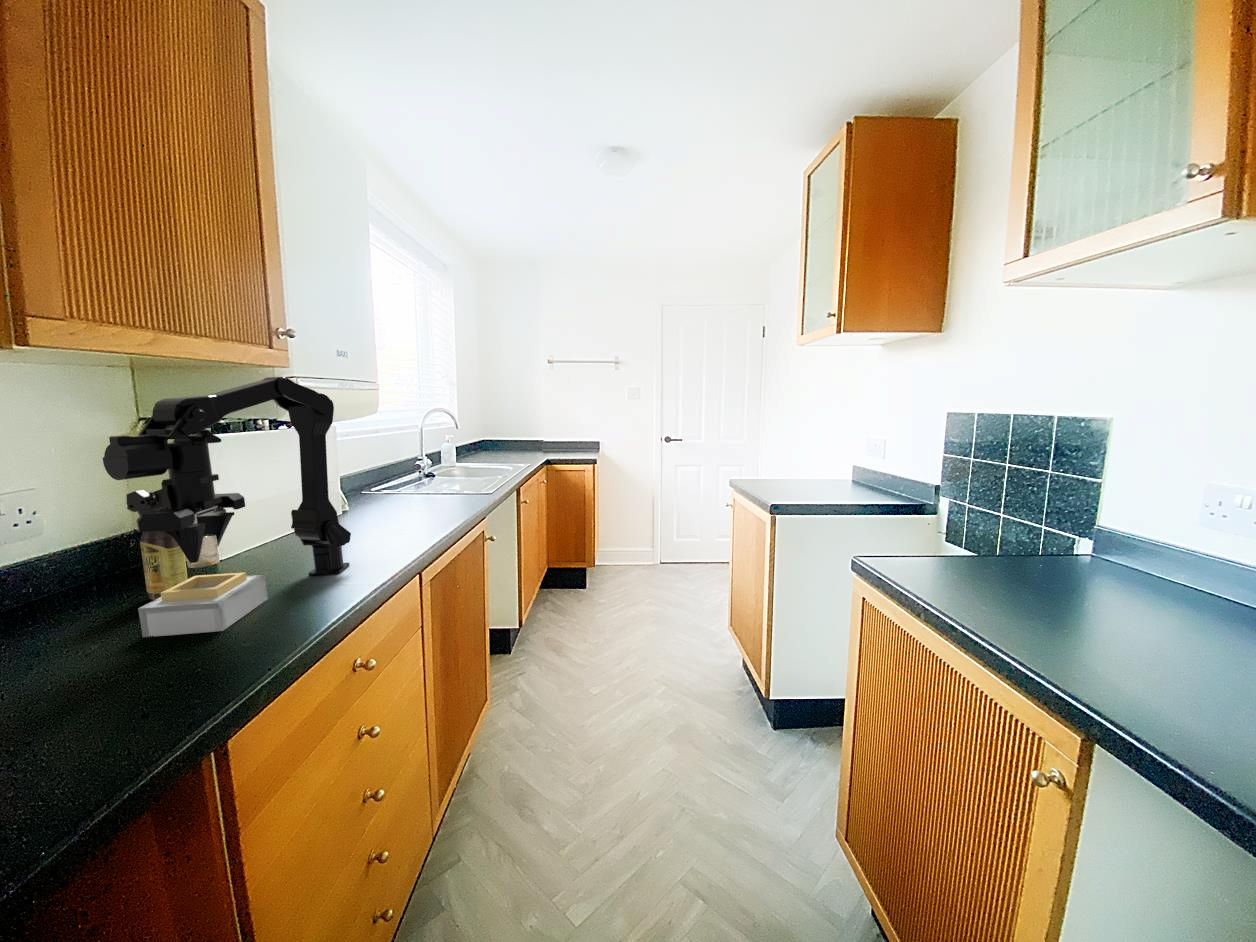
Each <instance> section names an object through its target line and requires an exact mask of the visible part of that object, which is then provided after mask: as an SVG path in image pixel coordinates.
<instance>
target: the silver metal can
mask: <svg viewBox="0 0 1256 942" xmlns="http://www.w3.org/2000/svg"><path fill="white" fill-rule="evenodd" d="M220 562H221V558H220V553H219V546H218V544H217V537H216V534H215V533H206V534H204V535H203V540H202V546H201V551H200V556H199V559H198V562H196V563H190V562H189V561H188V559H187V558H186V565H187V568H189V569H191V568H192V569H196V568H197V569H198V568H206V567H210V566H213V565H217V564H219V563H220Z"/></svg>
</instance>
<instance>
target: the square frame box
mask: <svg viewBox="0 0 1256 942" xmlns="http://www.w3.org/2000/svg"><path fill="white" fill-rule="evenodd" d="M265 576H266V575H265V574H254V575H251V574H250V575H247V572H245V571H244V572H231V573H218V574H217V573H215V574H214V573H213V574H200V575H193V576H191V577H189V578H188V579H187V580H185V581H183V582H181V583H179V584H177V585H175V586H173V587H171V588H169V589H167V590H165V591H163V592H161V597H160V598H158V599H156V600H151V601H150V602H149V603H146V604H144V605H143V606H140V607H139V608H137V611H138V616H139V622H140V629H141V634H142V635H141V636H142V638H153V637H163V636H164V637H165V636H177V635H178V636H179V635H188V634H190V635H191V634H201V633H214V632H224V631H225V630H226V629H228V628H229V627H231V626H232V625H233V624H235V623H236V622H237V621H239V620H241V619H242V618H244V617H245V616H246V615H247V614H249V613H250V612H252V611H253V610H255V609H256V608H258V607H259V606H260V605H262V604H263V603H265V602H266V601H267V600H268V599H269V598H268V592H267V591H268V590H267V583H266V577H265ZM150 636H151V637H150ZM152 636H153V637H152Z"/></svg>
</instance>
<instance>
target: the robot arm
mask: <svg viewBox="0 0 1256 942" xmlns="http://www.w3.org/2000/svg"><path fill="white" fill-rule="evenodd" d="M269 401H273V402H274V403H275V404H276V405H277V406H278V407H279V408H281V409H283V410H285V411H286V412H287V413H288V416H289V421H290V423H291V425H292V426H293V428H294V429H295V432H297V434H298V439H299V442H298V443H299V463H300V476H301V477H300V478H301V480H300V482H301V499H302V500H301V503H300V505H299V506H298V508H297V509H292V510H291V513H290V514H291V519H292V520H291V521H292V522H291V527H290V528H291V529H293V530H294V531H293V532H294V535H295V536H297V537H298V538H299V540H300V541H301V543H302V546H308V547H309V546H311V548H312V549H311V550H312V557H313V566H314V568H313V569H312V570H310V571H309V572H308V573H307V575H308V576H319V575H322V576H323V575H335V574H336V575H337V574H340V573H342V572H343V571H344V570H345V569H346V568H348V567H349V566H350V562H344V557H343V555H344V554H343V547H342V546H345V545H346V544H348V543H350V542H351V535H352V533H351V532H350V530H349V531H348V529H346V528H345V527H344V526H343V525H341V524H340V521H339V517H338V512H337V509H336V508H335V507H334V505H333V504H332V503H331V501H330V498H329V480H328V478H329V477H328V460H327V457H328V456H327V439H326V436H327V433H328V432H329V430H330V428H331V427H332V424H333V421H334V420H333V419H334V411H335V405H334V401H333V400H332V399H330V397H329V396H328V395H326V394H324V393H322V392H321V393H319V392H318V391H316V390H314V389H312V388H309V387H306V386H304V385H301V384H298V383H296V382H295V381H293V380H291V379H289V378H287V377H285V376H270V377H265V378H264V379H261V380H258V381H254V382H250V383H247V384H244V385H240V386H236V387H233V388H232V387H231V388H229V389H225V390H221V391H217V392H214V393H210V394H203V395H192V396H191V395H190V396H179V397H171V398H169V397H167V398H162V399H160V400H158V401H156V402H155V403H154V406H153V408H152V413H151V414H152V415H151V417H150V418H149V420H148V421H147V422H146V424H145V425H144V426H143V428H142V430H140V432H139V434H138V435H132V436H131V435H114V436H113V435H111V436H109V437H108V439H109V440H108V441H109V445H107V447H106V448H105V450H104V457H102V463H103V467H104V469H105V471H106V473H107V474H108V475H109V477H110V478H112V479H114V480H116V481H124V480H125V481H126V480H131V479H140V478H147V477H154V476H161V475H164V474H166V472H168V478H164V479H162V481H161V488H160V489H157V490H155V491H151V492H147V491H146V490H144V489H139V490H134V491H132V492H128V493H127V494H126V495H125V496H126V498H125V499H126V506H127V507H126V509H127V510H128V511H130V512H132V513H138V515H139V516H138V517H137V519H136V527H137V533H143V532H151V531H158V532H165V533H167V534H169V535H170V536H172V537H173V538H174V540H175V541H176V542H177V544H178V545H179V547H180V548H181V550H182V551H183V553H184V554H185V558H186V560H187V559H188V561H189V562H190V563H196V562H198V559H199V556H200V551H201V546H202V540H203V535H204V534H206V533H215V534H216V537H217V544H218V547H219V546H220V544H221V541H222V539H223V536H224V534H225V532H226V529H227V528H228V526H229V523H230V521H231V520H232V517H233V516H235V512H233V511H231V512H230V511H228V512H227V509H228V508H229V509H231V508H232V509H233V510H240V509H243V508H245V507H246V502H245V497H244V496H243V495H242V494H241V493H239V492H232V493H231V492H229V493H215V484H214V482H215V481H219V480H220V478H219V474H217V473H215V474H213V470H212V464H211V463H212V461H211V456H210V455H211V454H210V449H209V444H217V443H219V444H220V443H221V442H222V438H220V437H218V436H217V435H215V434H213V433H212V432H211V430H209V428H210V427H212V426H213V425H216V424H217V423H219V422H220V421H221V420H223V419H224V417H226V416H227V415H230V414H232V413H235V412H238V411H242V410H244V409H248V408H251V407H254V406H257V405H259V404H260V405H261V404H263V403H267V402H269ZM193 433H195V434H193ZM168 440H172V442H168Z"/></svg>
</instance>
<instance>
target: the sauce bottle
mask: <svg viewBox="0 0 1256 942" xmlns="http://www.w3.org/2000/svg"><path fill="white" fill-rule="evenodd" d="M141 533H142V534H141V536H140V541H139V543H140V550H141V560H142V565H143V573H144V579H145V588H146V592H147V593H148V598H149V600H151V601H154V600H156V599H158V598H160V597H161V592H163V591H165V590H167V589H169V588H171V587H173V586H175V585H177V584H179V583H181V582H183V581H185V580H187V579H189V578H188V570H187V561H186V556H185V554H184V553H183V551H182V550H181V548H180V547H179V545H178V544H177V542H176V541H175V540H174V538H173V537H172V536H170V535H169V534H167V533H165V532H158V531H151V532H141Z"/></svg>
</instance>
